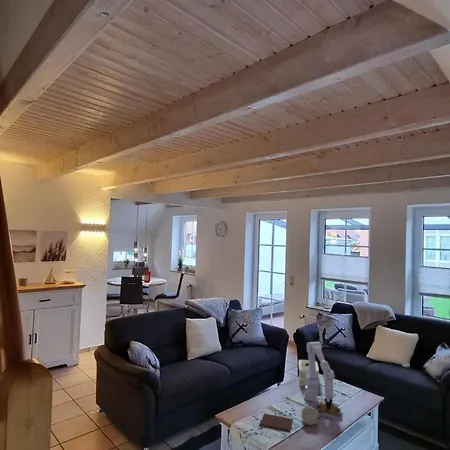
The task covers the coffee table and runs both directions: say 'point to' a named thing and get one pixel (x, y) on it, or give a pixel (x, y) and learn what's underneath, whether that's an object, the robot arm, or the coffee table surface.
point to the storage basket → (305, 371)
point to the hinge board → (336, 414)
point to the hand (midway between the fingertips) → (328, 407)
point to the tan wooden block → (324, 409)
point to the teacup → (309, 416)
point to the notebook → (276, 422)
